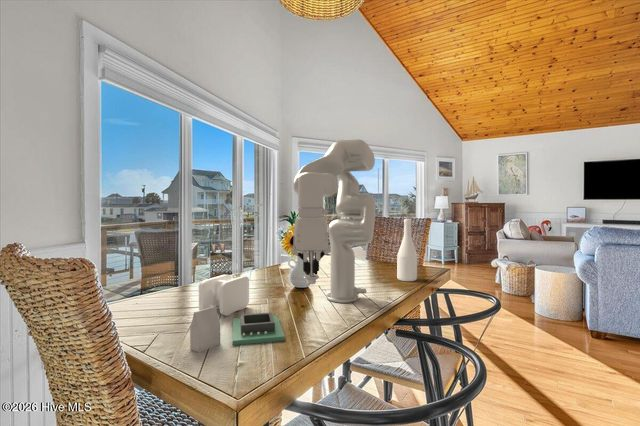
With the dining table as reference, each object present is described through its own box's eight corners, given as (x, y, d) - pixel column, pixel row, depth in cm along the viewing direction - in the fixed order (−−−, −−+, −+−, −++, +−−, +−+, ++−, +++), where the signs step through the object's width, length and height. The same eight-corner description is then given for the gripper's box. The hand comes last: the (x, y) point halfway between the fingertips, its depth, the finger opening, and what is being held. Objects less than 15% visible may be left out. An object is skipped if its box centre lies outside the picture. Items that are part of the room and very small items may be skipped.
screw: (299, 283, 107) (310, 280, 111) (312, 286, 104) (322, 283, 108) (299, 241, 106) (310, 239, 110) (311, 242, 103) (322, 241, 107)
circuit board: (277, 319, 115) (277, 307, 115) (284, 340, 97) (284, 327, 97) (233, 322, 111) (233, 310, 111) (232, 345, 94) (232, 331, 94)
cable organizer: (221, 319, 114) (221, 284, 114) (197, 314, 119) (197, 280, 118) (249, 306, 128) (249, 275, 127) (226, 303, 132) (226, 272, 132)
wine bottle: (397, 281, 169) (398, 219, 168) (396, 277, 178) (397, 218, 177) (417, 282, 167) (418, 219, 166) (415, 277, 177) (416, 218, 176)
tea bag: (220, 343, 95) (220, 307, 95) (199, 352, 90) (198, 314, 89) (211, 340, 97) (211, 305, 97) (190, 349, 92) (189, 311, 91)
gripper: (332, 212, 111) (332, 269, 113) (283, 213, 108) (283, 272, 109) (339, 213, 104) (339, 275, 105) (286, 214, 100) (287, 278, 102)
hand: (311, 273), depth 107 cm, fingers closed on screw, 2 cm apart
